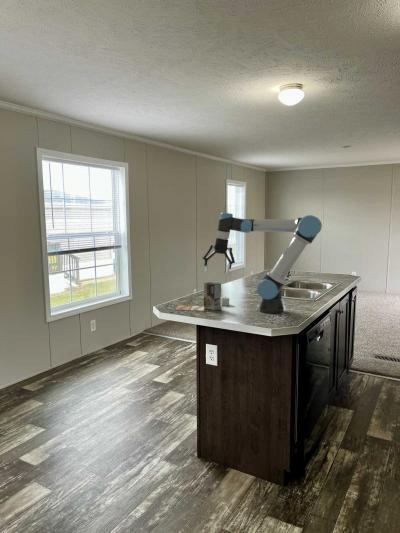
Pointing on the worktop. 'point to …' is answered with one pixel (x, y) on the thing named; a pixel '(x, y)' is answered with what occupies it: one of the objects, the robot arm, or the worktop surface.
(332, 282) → the worktop surface
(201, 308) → the board
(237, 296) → the worktop surface
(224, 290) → the worktop surface
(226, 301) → the die
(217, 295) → the coffee box
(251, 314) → the worktop surface
